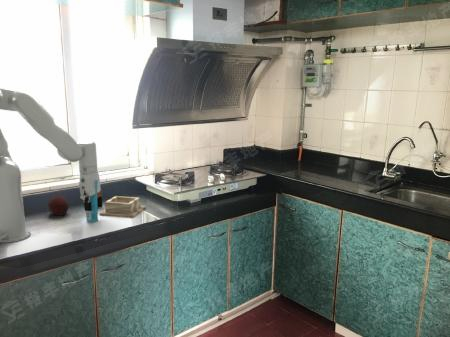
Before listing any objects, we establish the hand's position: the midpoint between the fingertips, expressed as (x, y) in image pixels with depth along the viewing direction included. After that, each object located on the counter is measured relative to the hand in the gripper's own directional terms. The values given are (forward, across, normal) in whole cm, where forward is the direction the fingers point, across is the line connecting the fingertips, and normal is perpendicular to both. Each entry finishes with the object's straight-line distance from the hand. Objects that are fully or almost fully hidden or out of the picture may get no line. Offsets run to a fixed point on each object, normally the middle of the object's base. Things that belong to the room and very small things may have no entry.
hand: (91, 208), depth 173 cm
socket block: (+6, +15, -8) cm, 18 cm away
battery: (+6, +18, +9) cm, 21 cm away
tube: (+6, 0, 0) cm, 6 cm away
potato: (+6, +5, +20) cm, 22 cm away
